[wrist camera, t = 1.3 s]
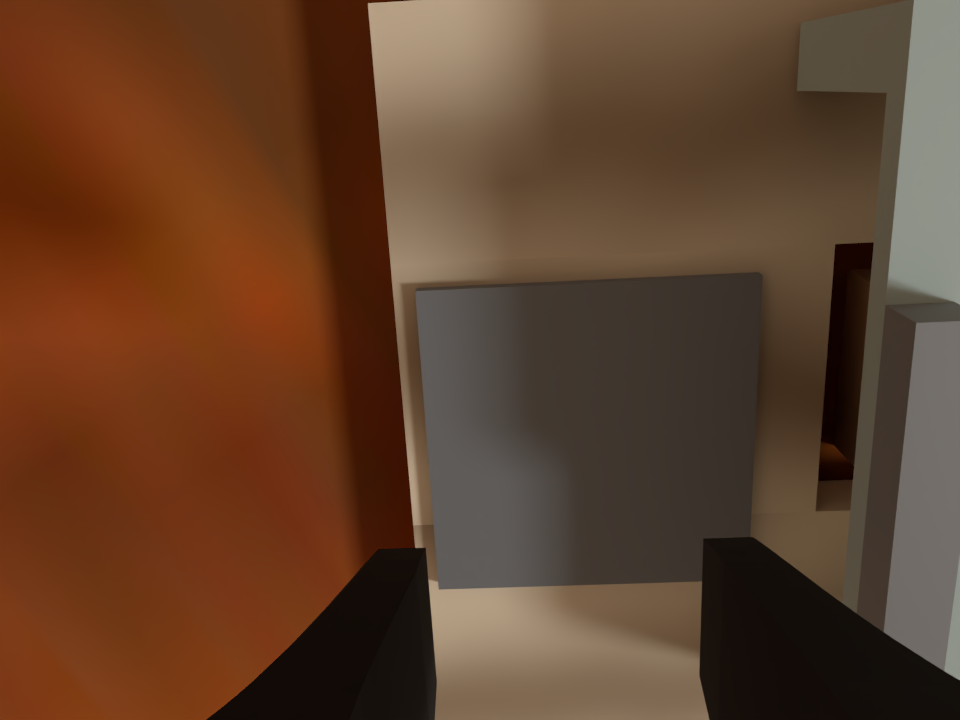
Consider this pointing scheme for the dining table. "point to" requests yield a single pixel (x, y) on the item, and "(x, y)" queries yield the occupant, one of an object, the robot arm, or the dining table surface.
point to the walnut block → (852, 361)
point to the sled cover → (906, 321)
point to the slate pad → (588, 426)
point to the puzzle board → (621, 254)
